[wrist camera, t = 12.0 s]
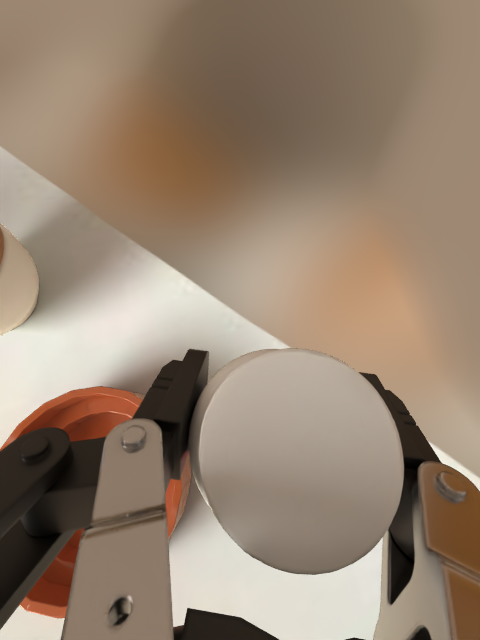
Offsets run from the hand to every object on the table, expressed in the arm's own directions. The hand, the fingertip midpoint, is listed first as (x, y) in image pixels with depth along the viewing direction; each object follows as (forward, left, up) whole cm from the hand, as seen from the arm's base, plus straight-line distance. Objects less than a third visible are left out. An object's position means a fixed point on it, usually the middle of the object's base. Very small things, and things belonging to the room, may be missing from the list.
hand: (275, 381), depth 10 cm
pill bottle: (+1, -2, -4) cm, 5 cm away
